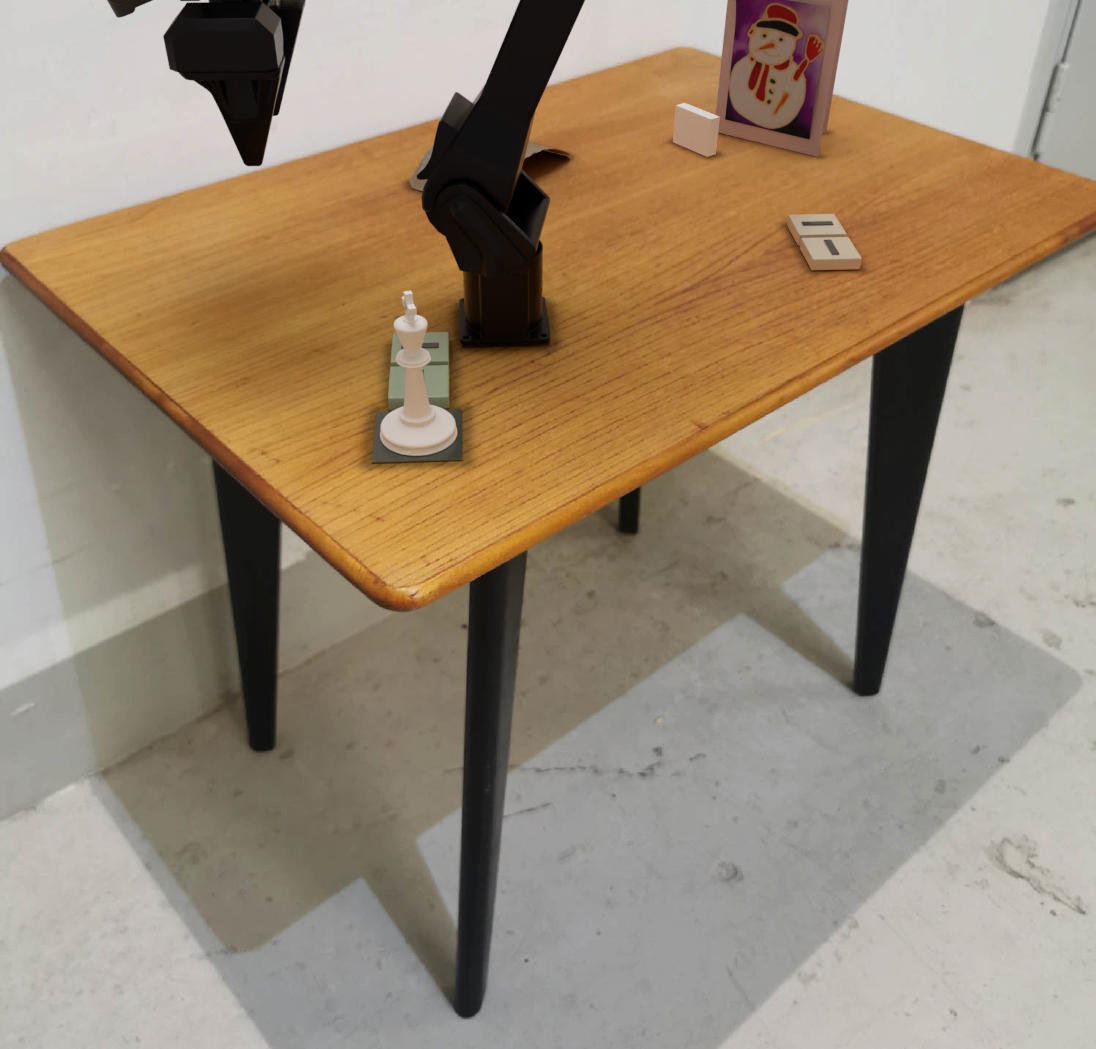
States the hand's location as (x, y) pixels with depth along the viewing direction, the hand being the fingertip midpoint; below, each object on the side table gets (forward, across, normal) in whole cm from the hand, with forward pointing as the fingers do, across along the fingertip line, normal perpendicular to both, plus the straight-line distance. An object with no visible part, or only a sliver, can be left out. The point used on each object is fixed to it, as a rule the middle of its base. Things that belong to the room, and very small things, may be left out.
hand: (262, 139), depth 76 cm
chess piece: (+13, +17, +10) cm, 24 cm away
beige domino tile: (+13, -9, +43) cm, 46 cm away
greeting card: (+13, -34, +45) cm, 58 cm away
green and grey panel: (+13, +13, +10) cm, 21 cm away
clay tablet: (+13, -26, +16) cm, 33 cm away
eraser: (+13, -31, +36) cm, 49 cm away
